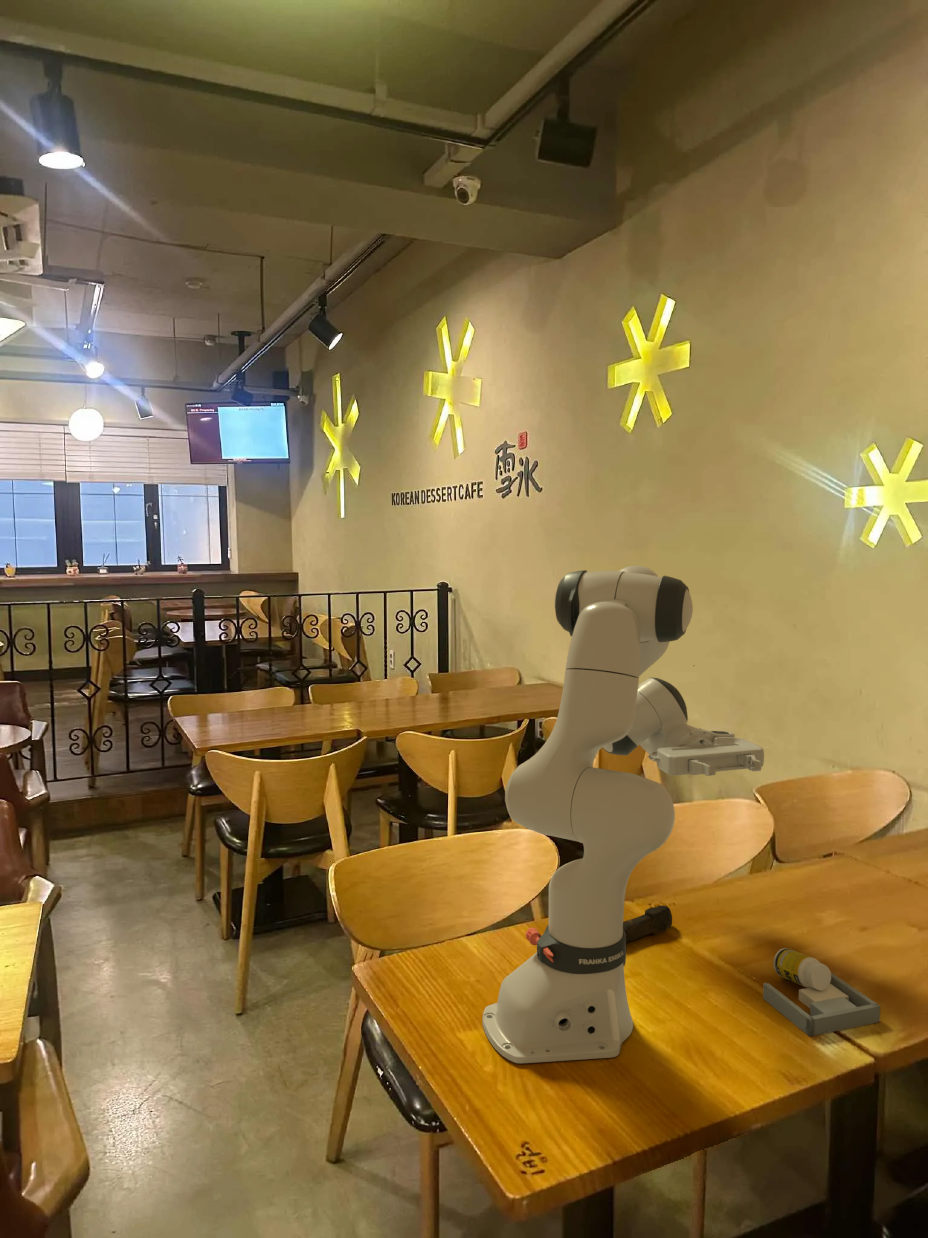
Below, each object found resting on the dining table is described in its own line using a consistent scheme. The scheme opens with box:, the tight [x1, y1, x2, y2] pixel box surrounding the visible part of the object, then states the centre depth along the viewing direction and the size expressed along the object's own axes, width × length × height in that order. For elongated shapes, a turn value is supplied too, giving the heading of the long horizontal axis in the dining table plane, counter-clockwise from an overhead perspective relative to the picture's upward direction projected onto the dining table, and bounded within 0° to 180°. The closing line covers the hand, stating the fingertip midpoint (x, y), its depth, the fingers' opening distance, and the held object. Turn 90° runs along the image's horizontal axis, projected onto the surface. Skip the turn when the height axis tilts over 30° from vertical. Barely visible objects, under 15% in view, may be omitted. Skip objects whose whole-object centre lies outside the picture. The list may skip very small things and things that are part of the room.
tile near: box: [809, 997, 856, 1016], centre depth 125 cm, size 6×4×2 cm, turn 107°
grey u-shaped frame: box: [762, 972, 881, 1037], centre depth 127 cm, size 13×11×2 cm
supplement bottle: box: [773, 947, 832, 990], centre depth 134 cm, size 5×5×8 cm
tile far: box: [798, 984, 849, 1009], centre depth 129 cm, size 6×4×2 cm, turn 107°
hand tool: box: [623, 905, 673, 943], centre depth 151 cm, size 19×4×5 cm, turn 119°
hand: (735, 769), depth 147 cm, fingers open, 8 cm apart
